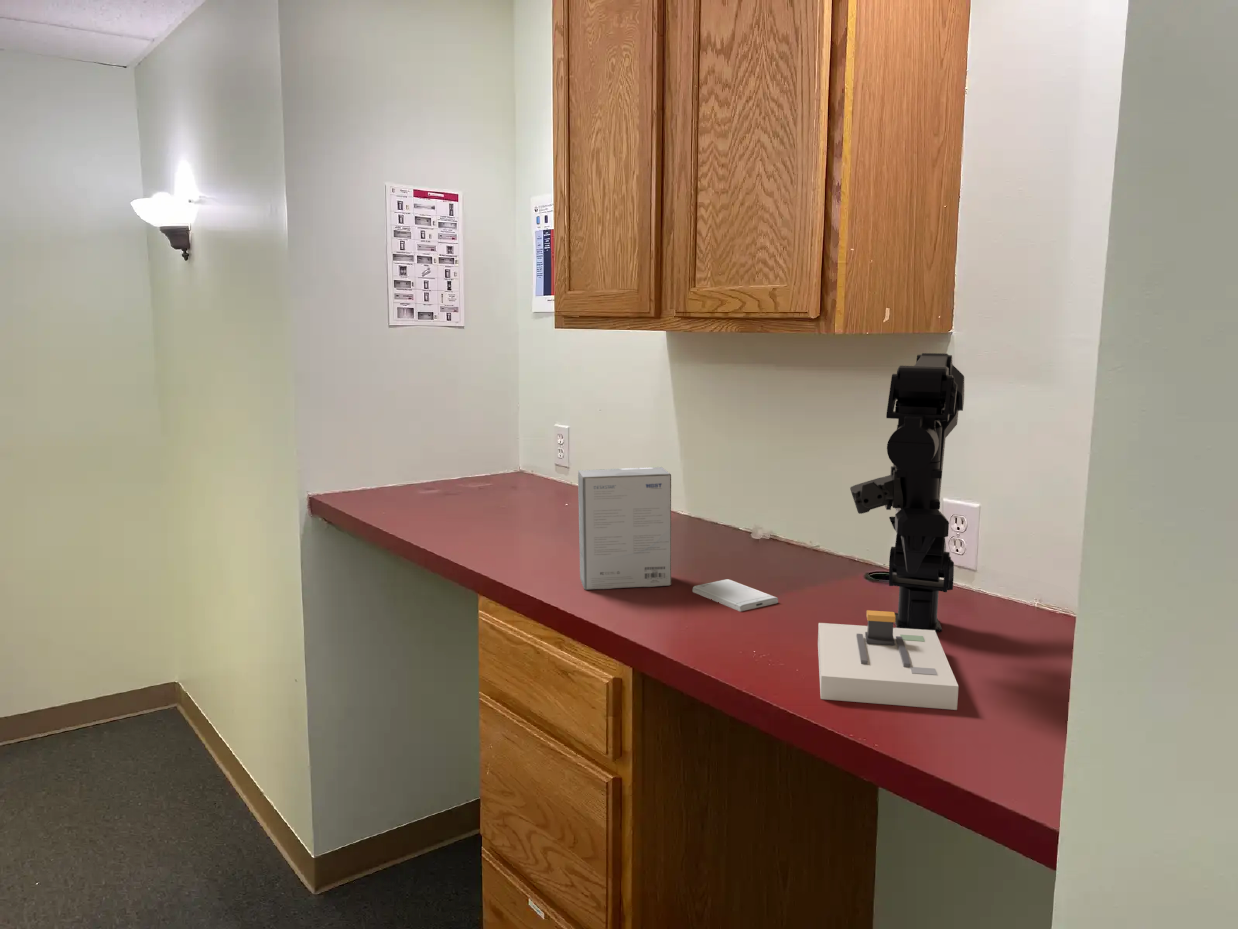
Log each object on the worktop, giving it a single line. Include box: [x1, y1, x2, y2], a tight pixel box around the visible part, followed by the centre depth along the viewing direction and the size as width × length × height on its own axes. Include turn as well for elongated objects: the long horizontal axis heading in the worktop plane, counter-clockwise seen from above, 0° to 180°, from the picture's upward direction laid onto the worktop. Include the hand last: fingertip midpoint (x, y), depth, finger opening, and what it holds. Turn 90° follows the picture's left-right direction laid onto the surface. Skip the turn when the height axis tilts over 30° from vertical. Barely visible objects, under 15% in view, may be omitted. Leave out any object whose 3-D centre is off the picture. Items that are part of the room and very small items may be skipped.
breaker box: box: [817, 622, 959, 711], centre depth 121 cm, size 20×16×4 cm
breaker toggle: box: [865, 609, 896, 645], centre depth 125 cm, size 3×4×4 cm
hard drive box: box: [577, 466, 672, 591], centre depth 161 cm, size 16×8×20 cm, turn 99°
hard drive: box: [692, 578, 779, 612], centre depth 154 cm, size 2×8×12 cm
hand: (911, 572), depth 126 cm, fingers closed
